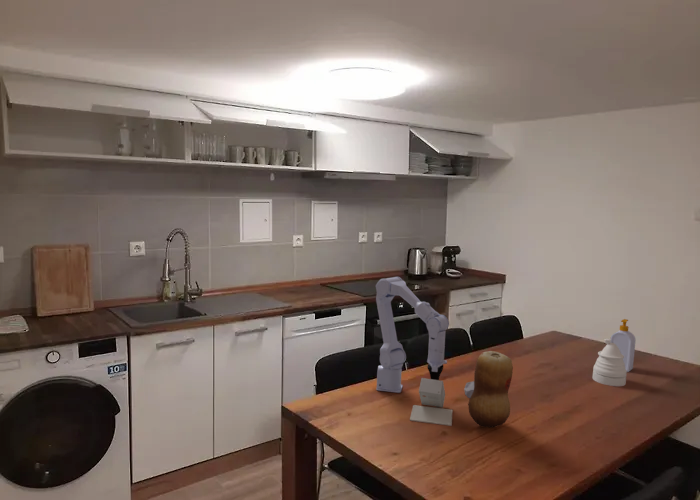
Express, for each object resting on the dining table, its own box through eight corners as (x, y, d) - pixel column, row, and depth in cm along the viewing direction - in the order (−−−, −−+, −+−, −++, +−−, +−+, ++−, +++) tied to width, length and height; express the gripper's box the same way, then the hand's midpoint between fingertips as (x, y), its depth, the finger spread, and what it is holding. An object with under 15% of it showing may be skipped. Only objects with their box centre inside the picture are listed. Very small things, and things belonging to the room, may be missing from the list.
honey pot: (593, 383, 218) (597, 341, 216) (591, 373, 230) (595, 334, 228) (627, 388, 214) (631, 346, 212) (623, 378, 225) (627, 338, 223)
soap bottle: (633, 369, 239) (638, 320, 236) (628, 372, 234) (633, 322, 231) (612, 364, 245) (616, 316, 242) (607, 367, 240) (612, 319, 237)
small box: (445, 394, 190) (443, 380, 182) (443, 408, 187) (441, 395, 179) (423, 390, 193) (421, 377, 185) (421, 404, 189) (418, 391, 182)
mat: (409, 420, 175) (409, 419, 175) (413, 406, 188) (413, 405, 188) (451, 425, 172) (451, 424, 172) (452, 410, 185) (452, 409, 185)
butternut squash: (502, 438, 164) (507, 362, 162) (461, 427, 171) (466, 354, 169) (513, 423, 176) (518, 352, 173) (475, 413, 183) (479, 344, 180)
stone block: (466, 403, 197) (492, 401, 195) (464, 391, 197) (490, 388, 195) (465, 393, 208) (490, 390, 206) (463, 381, 208) (488, 378, 206)
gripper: (447, 355, 180) (444, 393, 181) (448, 344, 194) (446, 379, 195) (426, 353, 181) (424, 390, 183) (429, 342, 195) (427, 377, 197)
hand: (434, 384), depth 189 cm, fingers closed
